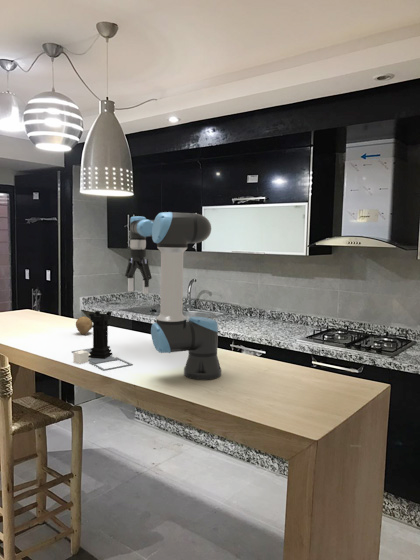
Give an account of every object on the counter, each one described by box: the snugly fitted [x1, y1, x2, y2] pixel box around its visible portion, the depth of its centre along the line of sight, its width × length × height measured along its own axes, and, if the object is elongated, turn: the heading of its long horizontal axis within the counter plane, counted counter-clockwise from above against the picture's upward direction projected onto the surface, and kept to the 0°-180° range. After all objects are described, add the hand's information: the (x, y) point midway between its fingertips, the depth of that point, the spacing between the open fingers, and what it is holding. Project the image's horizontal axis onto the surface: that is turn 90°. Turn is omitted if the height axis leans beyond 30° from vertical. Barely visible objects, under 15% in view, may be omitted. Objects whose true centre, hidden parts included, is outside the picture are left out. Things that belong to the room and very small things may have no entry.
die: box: [72, 349, 89, 365], centre depth 196 cm, size 4×4×5 cm
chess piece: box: [88, 310, 113, 359], centre depth 203 cm, size 8×8×20 cm
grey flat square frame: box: [88, 357, 134, 372], centre depth 194 cm, size 14×14×1 cm
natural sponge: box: [75, 315, 93, 335], centre depth 250 cm, size 9×9×10 cm
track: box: [71, 347, 119, 365], centre depth 206 cm, size 24×11×1 cm, turn 40°
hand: (137, 292), depth 218 cm, fingers open, 13 cm apart
